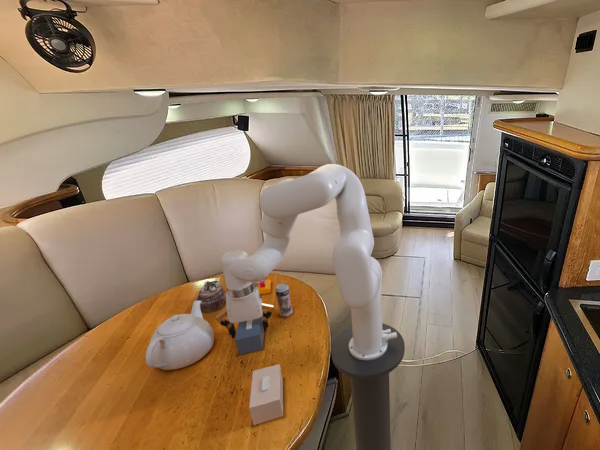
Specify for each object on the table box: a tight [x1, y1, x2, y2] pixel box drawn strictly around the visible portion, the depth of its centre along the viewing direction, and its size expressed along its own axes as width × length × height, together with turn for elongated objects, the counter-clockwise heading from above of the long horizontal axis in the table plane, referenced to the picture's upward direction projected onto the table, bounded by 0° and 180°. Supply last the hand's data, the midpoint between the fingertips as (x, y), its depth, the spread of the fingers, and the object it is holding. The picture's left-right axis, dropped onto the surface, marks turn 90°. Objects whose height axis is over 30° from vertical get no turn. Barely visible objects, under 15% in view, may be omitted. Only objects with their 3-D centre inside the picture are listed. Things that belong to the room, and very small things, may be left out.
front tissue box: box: [248, 363, 284, 426], centre depth 82 cm, size 12×7×6 cm, turn 20°
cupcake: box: [196, 280, 226, 313], centre depth 121 cm, size 10×10×10 cm
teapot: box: [145, 300, 215, 371], centre depth 97 cm, size 19×18×14 cm
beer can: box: [274, 283, 294, 317], centre depth 116 cm, size 5×5×12 cm
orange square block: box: [256, 278, 272, 295], centre depth 133 cm, size 8×8×4 cm
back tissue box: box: [235, 318, 265, 355], centre depth 104 cm, size 12×7×6 cm, turn 20°
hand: (249, 332), depth 104 cm, fingers open, 9 cm apart
